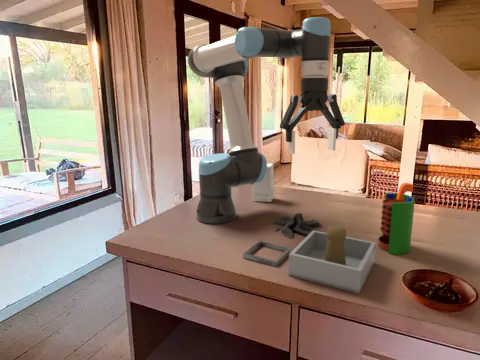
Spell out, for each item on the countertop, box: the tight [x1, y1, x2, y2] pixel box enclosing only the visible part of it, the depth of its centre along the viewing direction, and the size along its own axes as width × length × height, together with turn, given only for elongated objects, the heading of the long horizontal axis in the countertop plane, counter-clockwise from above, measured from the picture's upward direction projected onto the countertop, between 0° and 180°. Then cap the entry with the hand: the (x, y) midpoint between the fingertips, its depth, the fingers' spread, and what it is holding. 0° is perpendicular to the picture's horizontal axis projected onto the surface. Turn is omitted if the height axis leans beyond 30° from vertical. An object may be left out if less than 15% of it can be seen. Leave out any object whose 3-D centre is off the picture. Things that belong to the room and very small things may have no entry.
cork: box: [324, 225, 348, 265], centre depth 96 cm, size 6×6×11 cm
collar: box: [242, 240, 293, 267], centre depth 106 cm, size 11×11×1 cm
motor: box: [377, 182, 416, 256], centre depth 108 cm, size 10×9×20 cm
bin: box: [288, 230, 377, 295], centre depth 97 cm, size 18×18×6 cm
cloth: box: [270, 212, 323, 240], centre depth 124 cm, size 22×19×6 cm
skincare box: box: [251, 163, 275, 203], centre depth 155 cm, size 8×7×16 cm
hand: (311, 151), depth 108 cm, fingers open, 13 cm apart
